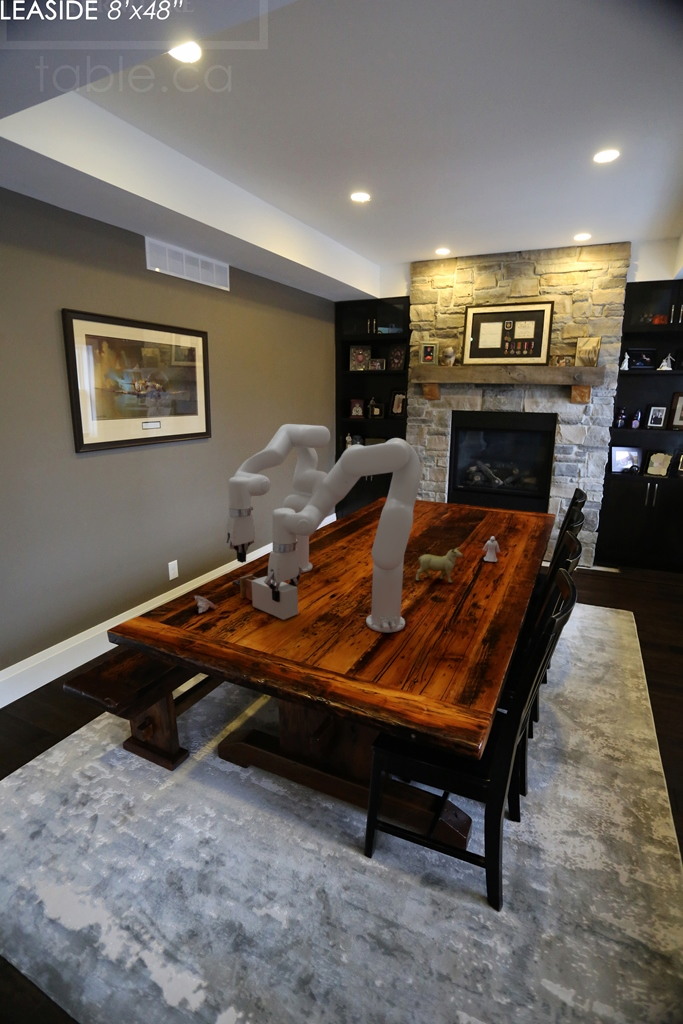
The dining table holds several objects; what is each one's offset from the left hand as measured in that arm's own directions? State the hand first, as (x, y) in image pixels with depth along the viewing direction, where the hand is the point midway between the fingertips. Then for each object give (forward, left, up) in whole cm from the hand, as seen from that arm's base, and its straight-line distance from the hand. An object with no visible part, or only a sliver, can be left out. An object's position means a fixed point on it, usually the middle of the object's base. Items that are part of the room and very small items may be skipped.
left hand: (241, 561), depth 180 cm
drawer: (+5, +6, -12) cm, 14 cm away
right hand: (+14, +19, -6) cm, 24 cm away
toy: (-24, +73, -13) cm, 78 cm away
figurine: (-53, +99, -13) cm, 113 cm away
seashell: (+15, -9, -13) cm, 21 cm away
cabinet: (+12, +15, -13) cm, 23 cm away
